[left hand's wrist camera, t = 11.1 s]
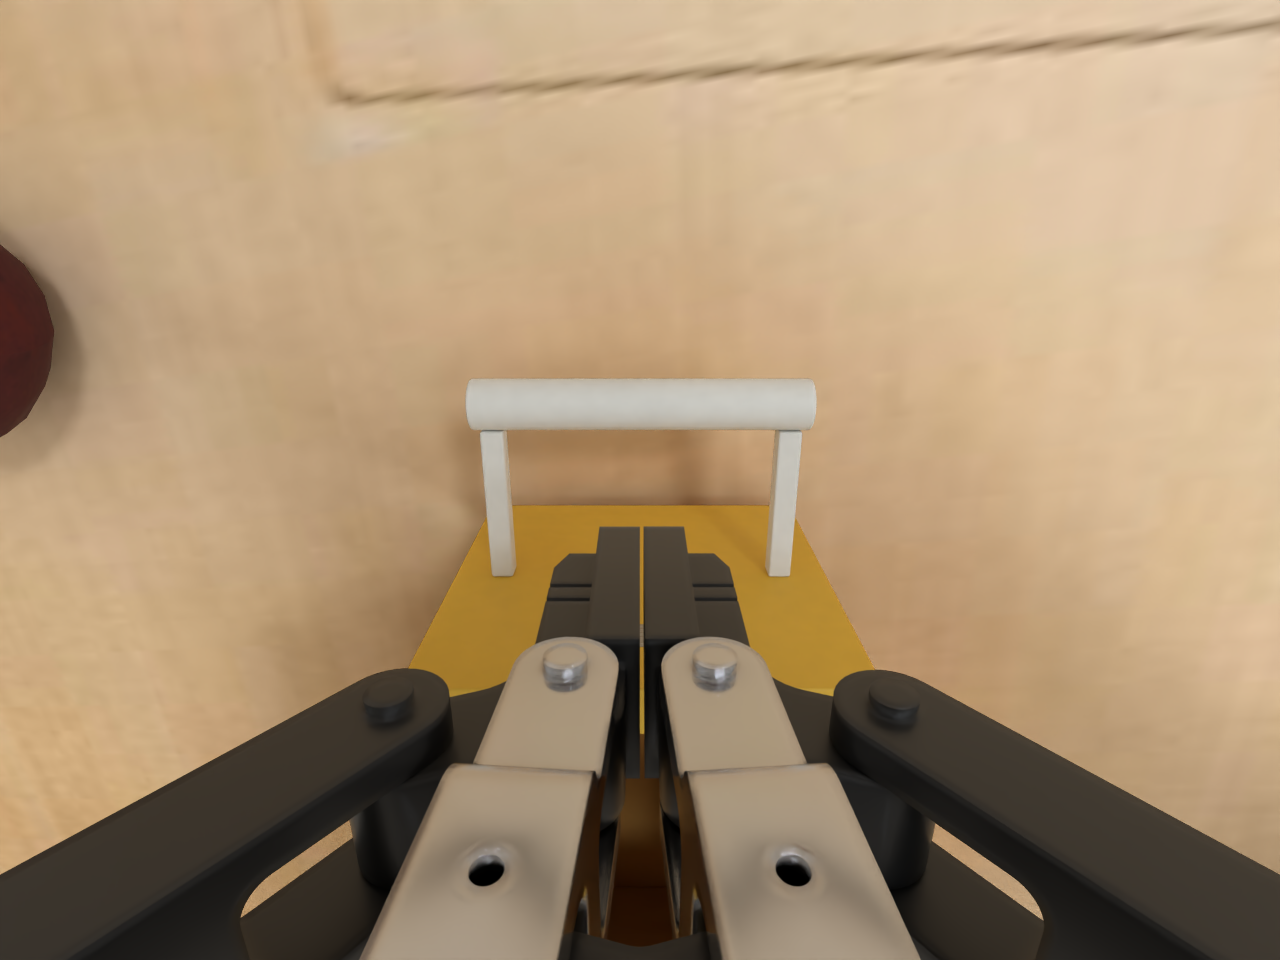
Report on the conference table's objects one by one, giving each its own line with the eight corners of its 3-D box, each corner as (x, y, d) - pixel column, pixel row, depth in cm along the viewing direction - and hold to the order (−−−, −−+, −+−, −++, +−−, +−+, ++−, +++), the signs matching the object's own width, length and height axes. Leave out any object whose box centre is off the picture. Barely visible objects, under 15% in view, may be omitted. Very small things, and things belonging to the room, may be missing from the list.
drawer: (478, 346, 22) (357, 440, 12) (802, 346, 22) (925, 440, 12) (522, 874, 30) (469, 1170, 20) (758, 874, 30) (812, 1170, 20)
